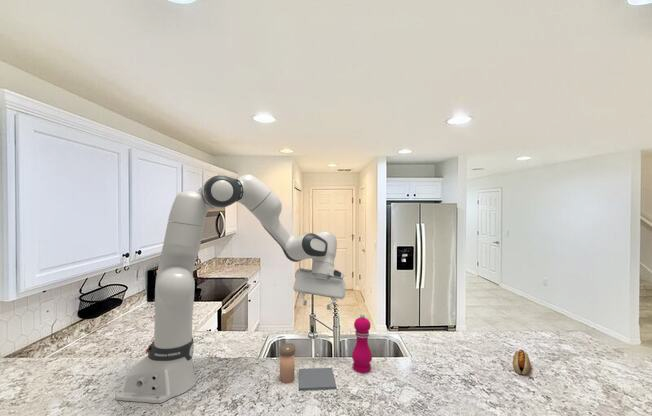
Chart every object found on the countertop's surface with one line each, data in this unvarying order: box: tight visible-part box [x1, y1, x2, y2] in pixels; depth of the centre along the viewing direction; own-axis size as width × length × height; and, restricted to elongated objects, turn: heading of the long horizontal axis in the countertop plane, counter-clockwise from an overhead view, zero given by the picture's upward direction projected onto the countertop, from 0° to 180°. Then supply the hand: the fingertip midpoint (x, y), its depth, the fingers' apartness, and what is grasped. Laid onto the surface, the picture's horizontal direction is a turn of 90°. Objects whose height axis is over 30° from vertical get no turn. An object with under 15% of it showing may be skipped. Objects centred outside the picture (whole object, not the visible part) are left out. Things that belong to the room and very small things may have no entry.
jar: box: [278, 342, 296, 384], centre depth 102 cm, size 5×5×11 cm
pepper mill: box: [351, 313, 373, 374], centre depth 110 cm, size 7×7×20 cm
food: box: [512, 349, 531, 376], centre depth 112 cm, size 14×6×5 cm, turn 146°
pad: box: [298, 367, 337, 392], centre depth 102 cm, size 12×12×1 cm
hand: (316, 307), depth 115 cm, fingers open, 8 cm apart
